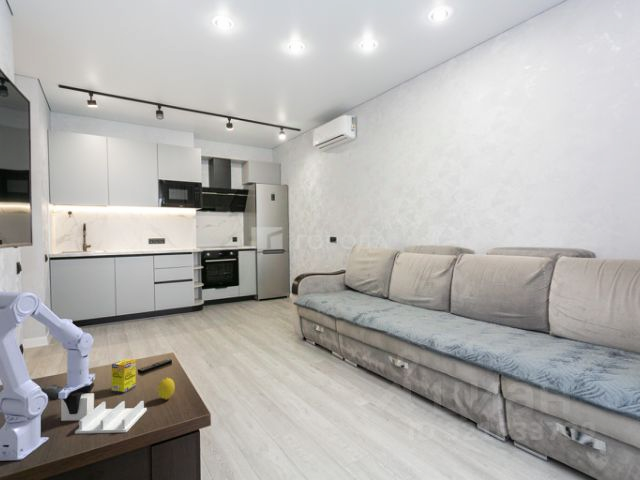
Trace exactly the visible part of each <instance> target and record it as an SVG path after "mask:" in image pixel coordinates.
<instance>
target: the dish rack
mask: <svg viewBox="0 0 640 480" xmlns="http://www.w3.org/2000/svg"><path fill="white" fill-rule="evenodd" d="M144 402H145V401H144V400H140V402H139V403H137V405H135V406H134V407H131V408H129V407H128V408H125V407H126V401H125V400H123V401H121V402H119V404H118V405H117V406H115V407H114V408H106V403H107V401H102V402H101V403H99V404H98V406H96V407H94V409H93V410H92V411H91V412H90V413H88V414H87V415H86V416H85V417H83V418H82V419H81V420H78V428H76V430H74V434H75V435H77V434H109V433H110V434H111V433H114V434H115V433H117V434H118V433H127V432H128V431H129V430H130V429H131V428H132V427H133V426H134V425H135V424H136V423H137V422H138V420H139V419H140V418H141V417H142V416H143V415H144V414H145V413H146V412H147V411H148V409H147V407H145V403H144Z"/></svg>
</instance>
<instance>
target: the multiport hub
mask: <svg viewBox="0 0 640 480" xmlns="http://www.w3.org/2000/svg"><path fill="white" fill-rule="evenodd" d="M63 388H64V387H63V386H61V385H58V384H52V385H49V386H45V387H43V388H41V390H42V392H44V393H45V394H47V396H48V398H51V399H53V400H60V399H59V392H60V391H62V389H63Z"/></svg>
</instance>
